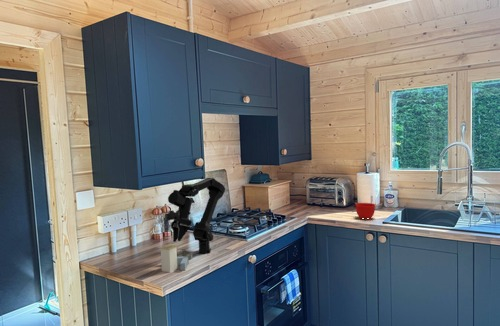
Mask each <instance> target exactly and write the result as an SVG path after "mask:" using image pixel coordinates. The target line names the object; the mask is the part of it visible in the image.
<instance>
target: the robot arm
mask: <svg viewBox="0 0 500 326" xmlns="http://www.w3.org/2000/svg"><path fill="white" fill-rule="evenodd" d="M205 189H206V190H208V195H209V197H208V199H207V203H206V206H205V209H204V211H203V214H202V216H201V220H200V221H196V222H195V224H194V227H193V231H192V234H193V238H194V240H195V241H198V251H197V254H211V251H212V248H211V246H210V242H212V241H213V240H214V235H213V233H212V232H211V225H210V223H211V221H212V218H213V215H214V213H215V209H216V207H217V204H218V202H219V200H220V199H221V198H222V197H223V196H224V195H225V191H226V188H225V186H224V184H222V183H221V182H220V181H218V180H216V179H215V178H213V177H206V178H204V179H202V180H200V181H196V182H195V183H188V184H183V185H182V186H181V187H180V189H179V190H178V189H173V191H172V192H171V193H170V194H169V195H168V197H167V201H168V203H169V204H170V205H171V204H172V205H173V206H175V207H177V208H178V209H177V210H176V211H174V210H173V209H172V210H169V211H168V212H167V213H165V214H164V215H163V216H164V222H167V221H171V222H170V225H169V227H170V229H171V230H172V241H173V242H174V243H176V242H181V241H182V239H183V238H184V236H185V235H186V234H187V233H188V231H189V229H190V228H191V227H192V225H193V221H192V219H189V217H190V215H191V208H192V205H193V204H195V200H194V198H195V197H196V196H197V195H198V194H199V192H200V191H203V190H205ZM193 197H194V198H193Z"/></svg>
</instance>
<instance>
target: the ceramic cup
mask: <svg viewBox="0 0 500 326" xmlns="http://www.w3.org/2000/svg"><path fill="white" fill-rule="evenodd" d="M355 210H356V214H357V216H358V217H359V219H361V218H364V219H367V218H370V219H372V218H373V216H374V215H375V210H376V204H374V203H372V202H371V203H370V202H359V203H358V202H357V203H356V204H355ZM371 217H372V218H371ZM364 219H363V220H364Z"/></svg>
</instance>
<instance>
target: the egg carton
mask: <svg viewBox="0 0 500 326" xmlns="http://www.w3.org/2000/svg"><path fill="white" fill-rule="evenodd" d="M193 255H194V252H190V251H189V252H188V250H185V249H183V248H182V249H181V250H180V251H179V252H177V257H183V256H188V260H192V259H193Z"/></svg>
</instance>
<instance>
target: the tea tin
mask: <svg viewBox="0 0 500 326" xmlns="http://www.w3.org/2000/svg"><path fill="white" fill-rule="evenodd" d="M159 248H160V261H161V271H162V272H167V273H172V272H173V271H176V270H177V269H178V265H177V253H178V252H177V251H178V250H177V248H178V246H177V244H170V243H169V244H168V243H167V244H165V245H162V246H160V247H159Z"/></svg>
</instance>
